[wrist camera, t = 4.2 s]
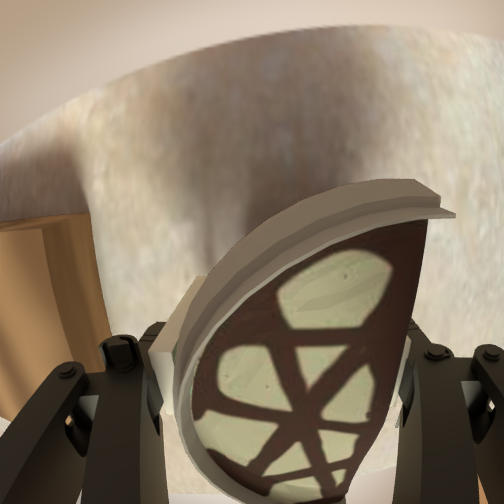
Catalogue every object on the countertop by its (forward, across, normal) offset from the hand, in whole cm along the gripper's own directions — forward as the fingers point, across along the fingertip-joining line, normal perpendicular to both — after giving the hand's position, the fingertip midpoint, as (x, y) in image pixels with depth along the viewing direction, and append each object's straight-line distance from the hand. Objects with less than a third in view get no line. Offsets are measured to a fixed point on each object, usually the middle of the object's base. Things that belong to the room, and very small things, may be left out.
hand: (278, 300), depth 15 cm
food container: (+2, 0, 0) cm, 2 cm away
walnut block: (+2, +17, +3) cm, 18 cm away
